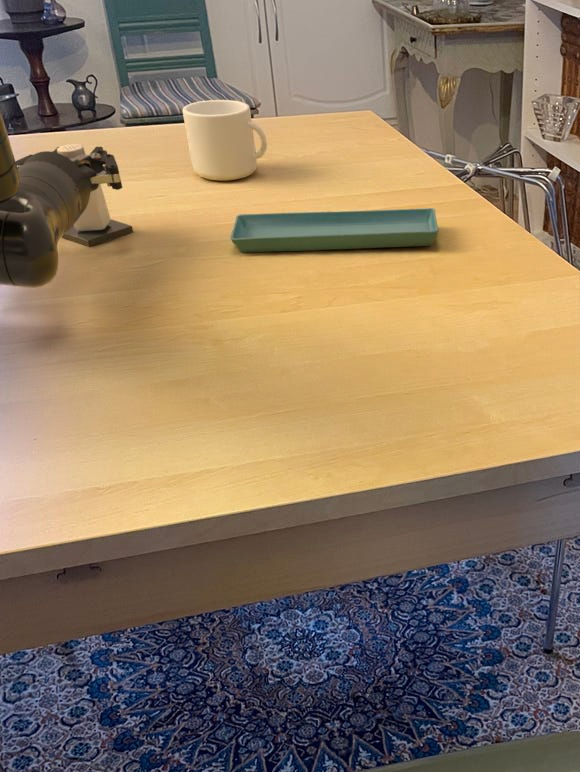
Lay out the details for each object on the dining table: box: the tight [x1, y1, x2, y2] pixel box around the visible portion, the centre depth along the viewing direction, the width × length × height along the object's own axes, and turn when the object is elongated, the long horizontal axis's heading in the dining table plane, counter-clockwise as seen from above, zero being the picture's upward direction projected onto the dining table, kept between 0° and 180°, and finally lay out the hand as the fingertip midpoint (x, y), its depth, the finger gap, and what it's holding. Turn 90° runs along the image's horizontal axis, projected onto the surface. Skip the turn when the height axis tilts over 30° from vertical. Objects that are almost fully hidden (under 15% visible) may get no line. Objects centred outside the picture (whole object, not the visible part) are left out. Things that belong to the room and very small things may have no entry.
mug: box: [182, 99, 268, 182], centre depth 140 cm, size 12×10×9 cm
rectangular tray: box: [230, 207, 439, 253], centre depth 122 cm, size 26×9×2 cm, turn 95°
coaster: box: [61, 218, 134, 248], centre depth 123 cm, size 7×7×1 cm
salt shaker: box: [56, 143, 111, 231], centre depth 119 cm, size 4×4×10 cm
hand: (82, 155), depth 119 cm, fingers open, 4 cm apart
